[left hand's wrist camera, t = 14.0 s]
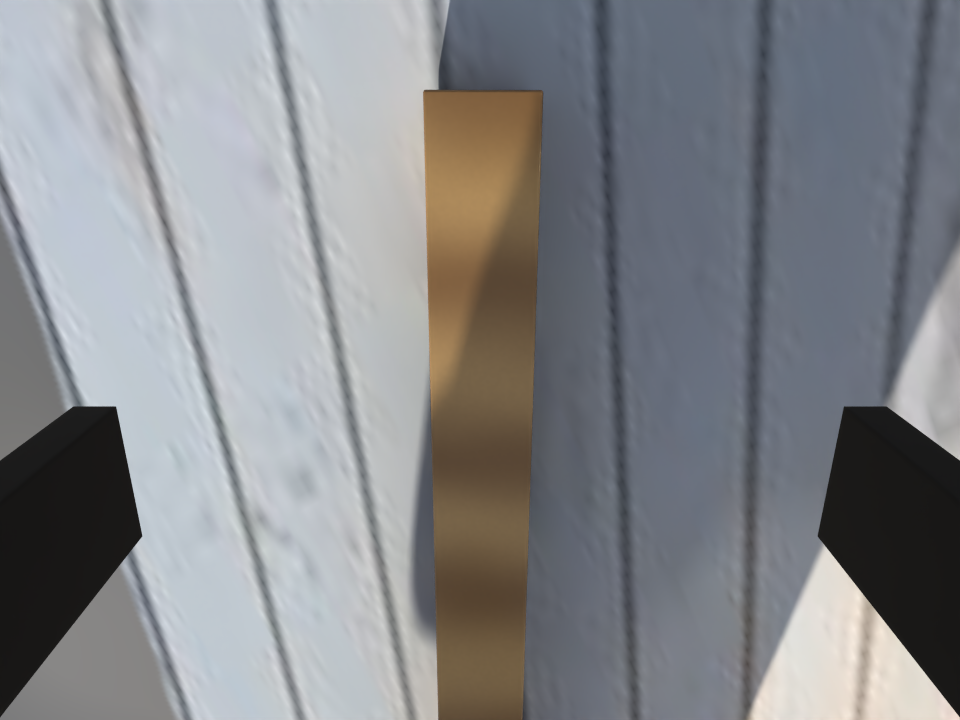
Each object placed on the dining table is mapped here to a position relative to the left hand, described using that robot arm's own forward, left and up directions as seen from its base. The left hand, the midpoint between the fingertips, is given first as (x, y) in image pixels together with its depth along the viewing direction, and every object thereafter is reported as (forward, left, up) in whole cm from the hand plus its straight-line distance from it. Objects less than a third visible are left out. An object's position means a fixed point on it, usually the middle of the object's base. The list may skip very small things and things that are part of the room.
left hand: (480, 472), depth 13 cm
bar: (-3, +27, -26) cm, 37 cm away
